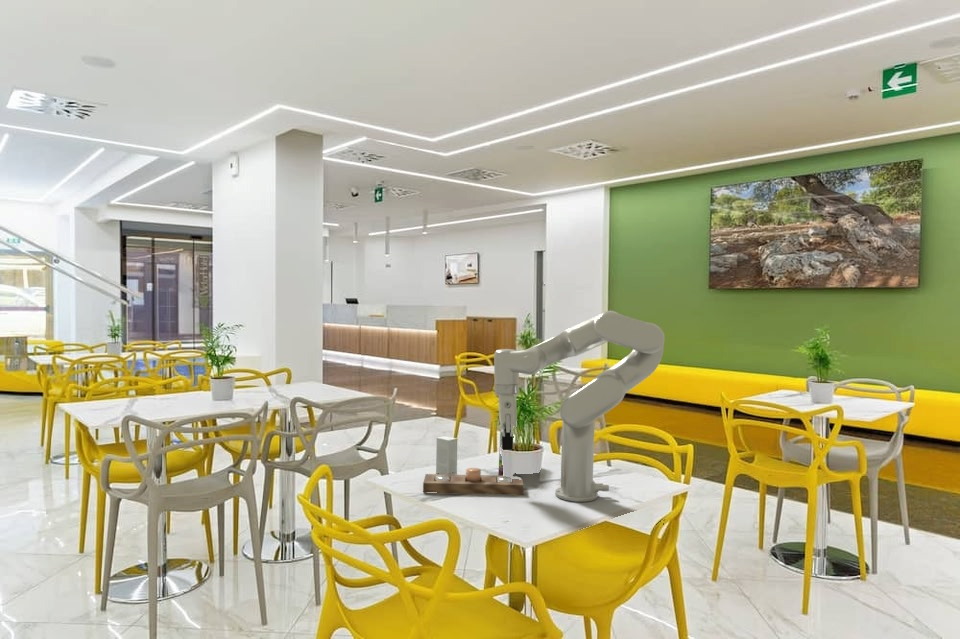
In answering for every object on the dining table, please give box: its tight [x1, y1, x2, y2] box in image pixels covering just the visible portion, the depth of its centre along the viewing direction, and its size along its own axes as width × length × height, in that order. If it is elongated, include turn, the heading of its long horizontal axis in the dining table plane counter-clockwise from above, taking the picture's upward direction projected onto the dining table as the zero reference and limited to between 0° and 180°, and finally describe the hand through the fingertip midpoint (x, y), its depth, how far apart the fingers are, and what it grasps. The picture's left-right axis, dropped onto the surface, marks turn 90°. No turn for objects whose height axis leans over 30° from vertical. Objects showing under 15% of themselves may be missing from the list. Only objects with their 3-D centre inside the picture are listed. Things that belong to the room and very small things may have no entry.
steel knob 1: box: [435, 475, 450, 481], centre depth 199 cm, size 4×4×3 cm
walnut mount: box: [422, 473, 524, 496], centre depth 199 cm, size 30×10×3 cm, turn 90°
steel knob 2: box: [497, 476, 511, 482], centre depth 199 cm, size 4×4×3 cm
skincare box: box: [435, 436, 458, 475], centre depth 215 cm, size 6×4×12 cm
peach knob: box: [465, 467, 482, 482], centre depth 199 cm, size 4×4×3 cm
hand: (507, 449), depth 198 cm, fingers closed
